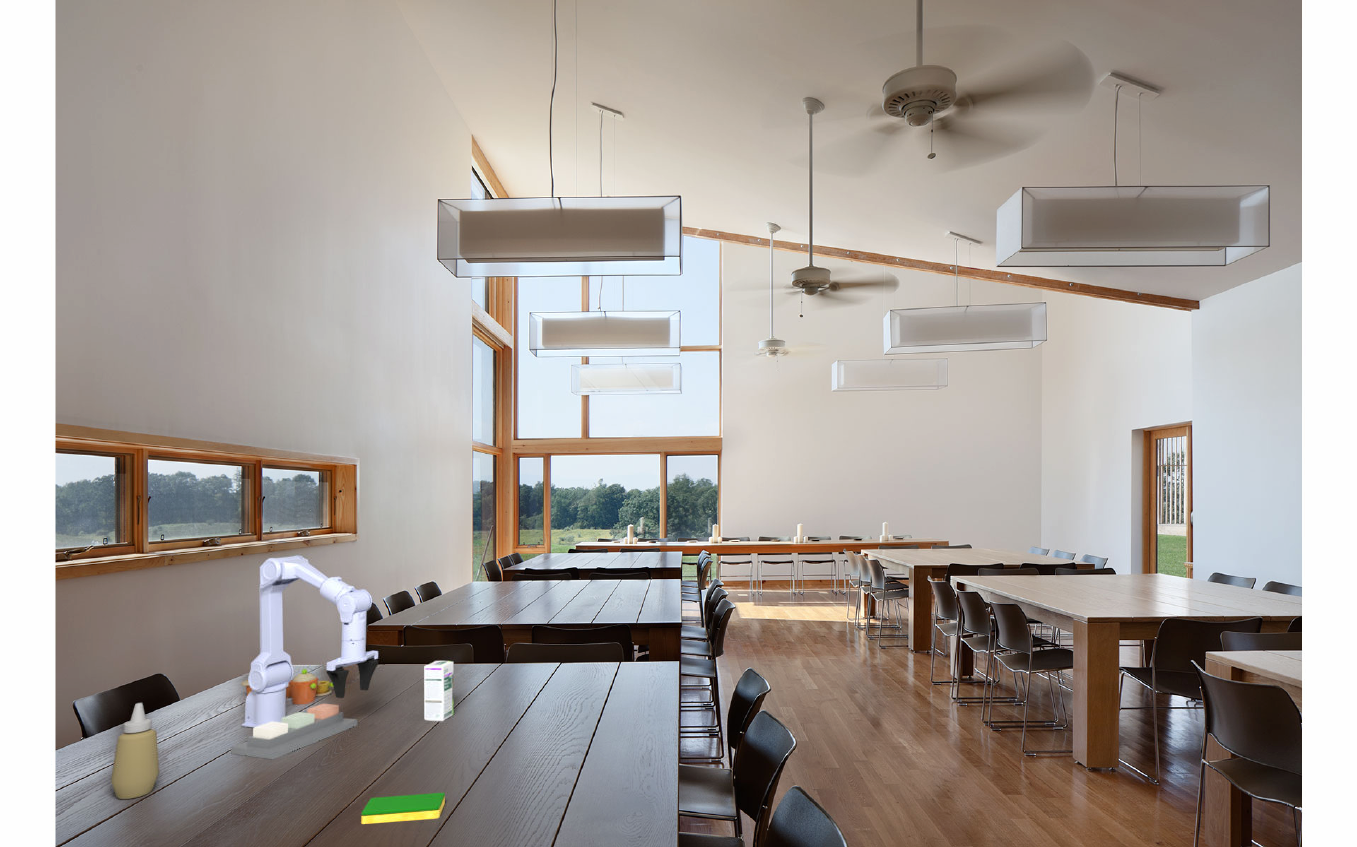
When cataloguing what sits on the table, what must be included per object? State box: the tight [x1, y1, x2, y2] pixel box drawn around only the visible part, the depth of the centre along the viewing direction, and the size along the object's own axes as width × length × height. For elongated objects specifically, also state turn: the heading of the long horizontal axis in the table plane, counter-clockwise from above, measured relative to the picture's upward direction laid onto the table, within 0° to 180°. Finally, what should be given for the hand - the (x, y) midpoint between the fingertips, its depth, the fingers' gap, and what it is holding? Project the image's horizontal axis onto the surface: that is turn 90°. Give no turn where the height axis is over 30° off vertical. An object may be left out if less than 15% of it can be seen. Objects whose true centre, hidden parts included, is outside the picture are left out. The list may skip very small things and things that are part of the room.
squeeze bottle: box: [110, 702, 160, 800], centre depth 154 cm, size 8×8×18 cm
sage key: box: [281, 711, 315, 729], centre depth 187 cm, size 5×5×2 cm
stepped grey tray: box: [230, 711, 358, 760], centre depth 186 cm, size 13×26×4 cm, turn 160°
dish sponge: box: [360, 792, 446, 825], centre depth 142 cm, size 7×14×2 cm, turn 98°
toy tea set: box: [240, 668, 334, 706], centre depth 223 cm, size 26×16×10 cm, turn 95°
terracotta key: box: [306, 703, 340, 719], centre depth 194 cm, size 5×5×2 cm
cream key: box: [252, 721, 288, 739], centre depth 179 cm, size 5×5×2 cm
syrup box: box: [423, 660, 455, 722], centre depth 202 cm, size 6×6×14 cm
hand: (352, 693), depth 190 cm, fingers open, 7 cm apart
